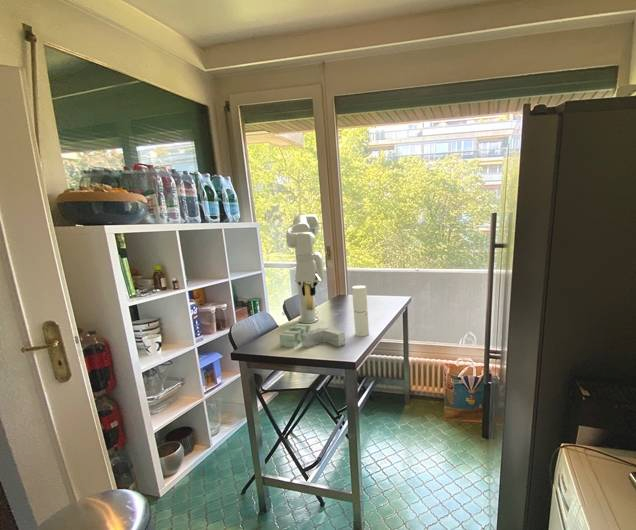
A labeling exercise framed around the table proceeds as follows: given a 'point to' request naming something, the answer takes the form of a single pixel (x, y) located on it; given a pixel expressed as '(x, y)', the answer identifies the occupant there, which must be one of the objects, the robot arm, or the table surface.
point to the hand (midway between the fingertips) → (309, 294)
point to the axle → (308, 297)
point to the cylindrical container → (360, 310)
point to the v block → (323, 337)
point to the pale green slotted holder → (293, 335)
